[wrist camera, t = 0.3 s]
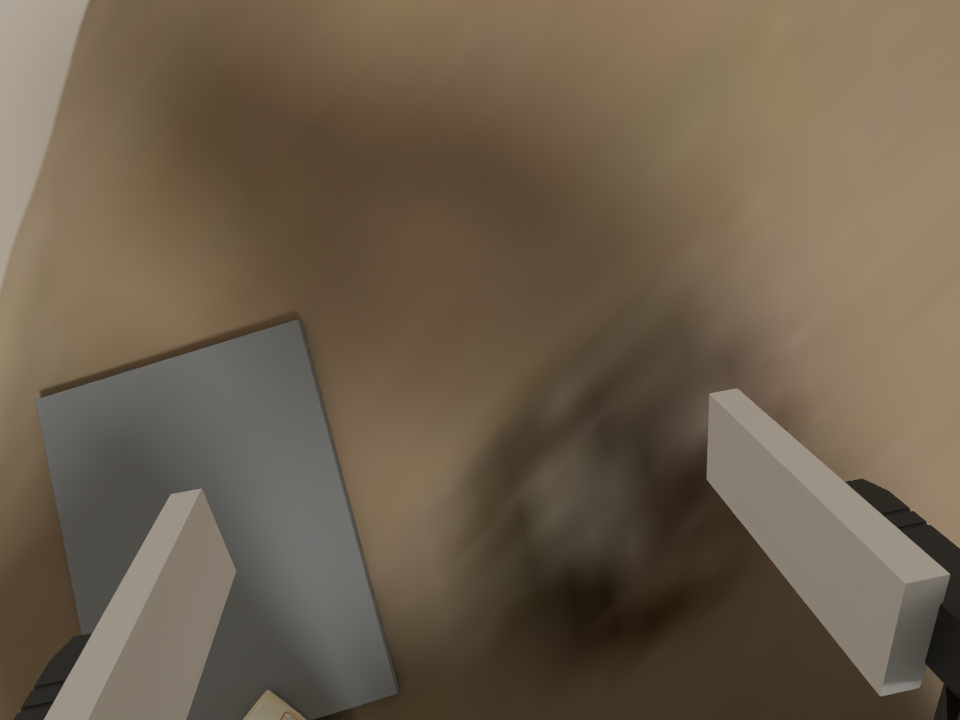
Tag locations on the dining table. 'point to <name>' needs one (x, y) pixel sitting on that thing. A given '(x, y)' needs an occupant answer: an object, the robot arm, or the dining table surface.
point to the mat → (228, 515)
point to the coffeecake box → (272, 709)
